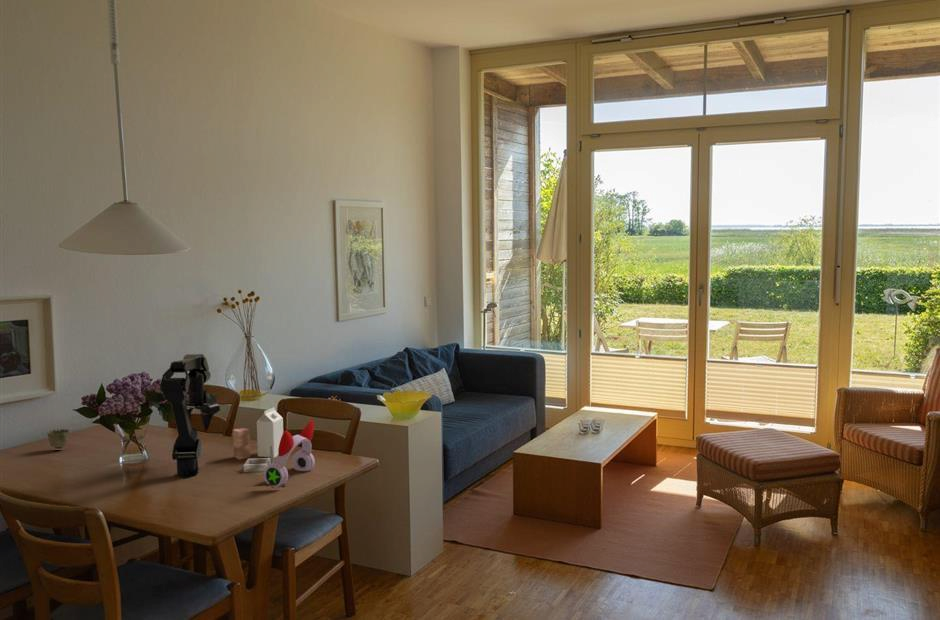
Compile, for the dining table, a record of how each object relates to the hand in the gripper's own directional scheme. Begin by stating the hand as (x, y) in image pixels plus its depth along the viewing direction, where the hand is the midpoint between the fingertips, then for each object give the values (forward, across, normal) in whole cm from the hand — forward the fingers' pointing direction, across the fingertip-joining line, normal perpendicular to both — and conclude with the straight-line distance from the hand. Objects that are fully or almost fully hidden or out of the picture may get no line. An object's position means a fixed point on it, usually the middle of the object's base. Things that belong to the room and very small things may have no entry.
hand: (197, 429), depth 287 cm
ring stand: (+13, -28, -2) cm, 31 cm away
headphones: (+13, -45, -1) cm, 47 cm away
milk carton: (+13, -19, -18) cm, 29 cm away
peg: (+13, -12, -10) cm, 20 cm away
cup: (+13, +64, +14) cm, 67 cm away
